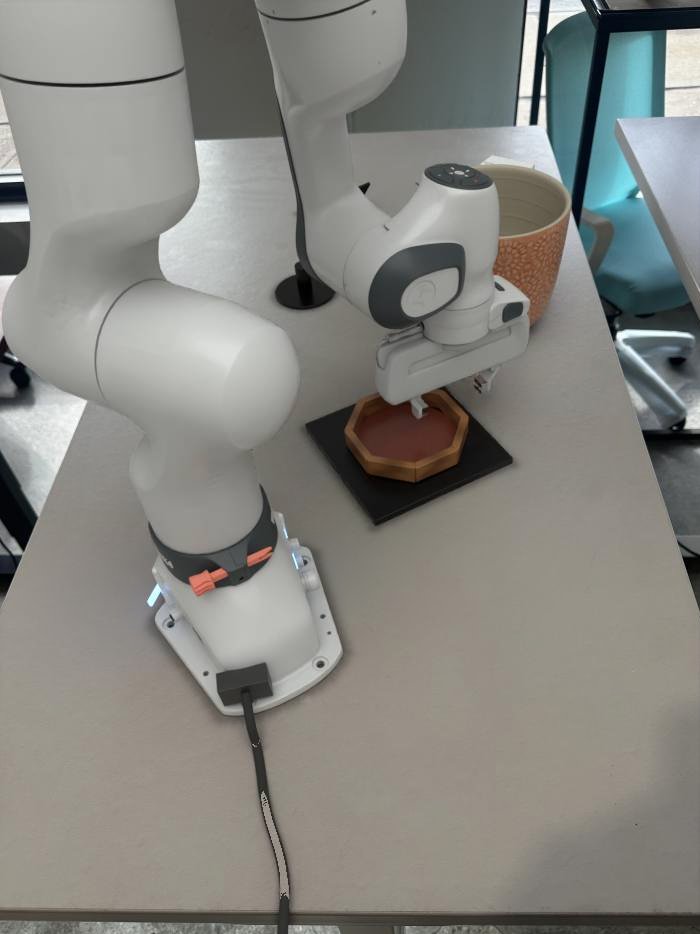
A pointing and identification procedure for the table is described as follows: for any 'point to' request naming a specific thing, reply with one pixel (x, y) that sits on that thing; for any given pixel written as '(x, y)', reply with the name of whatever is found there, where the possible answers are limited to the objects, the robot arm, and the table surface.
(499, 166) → the planter
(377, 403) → the hoop
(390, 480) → the hob plate
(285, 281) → the peg stand
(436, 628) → the table surface
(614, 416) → the table surface
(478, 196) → the robot arm
